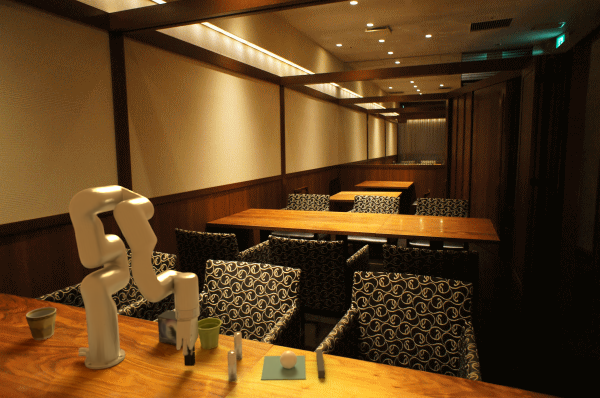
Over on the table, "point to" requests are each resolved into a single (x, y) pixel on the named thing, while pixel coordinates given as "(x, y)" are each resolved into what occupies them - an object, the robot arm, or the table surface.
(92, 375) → the table surface
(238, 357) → the post
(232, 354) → the post
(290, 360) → the ball
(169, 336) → the small box
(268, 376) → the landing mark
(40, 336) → the ceramic cup
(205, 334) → the plant pot
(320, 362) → the wall
